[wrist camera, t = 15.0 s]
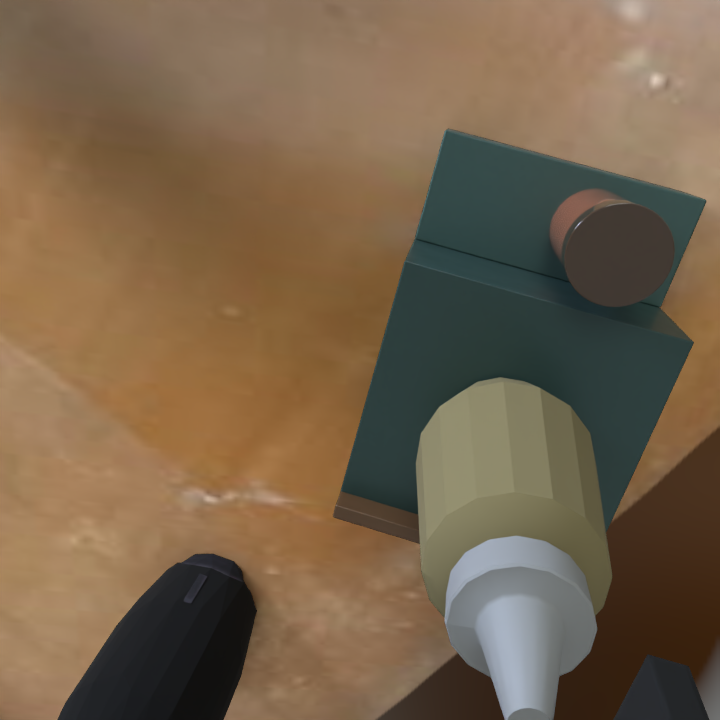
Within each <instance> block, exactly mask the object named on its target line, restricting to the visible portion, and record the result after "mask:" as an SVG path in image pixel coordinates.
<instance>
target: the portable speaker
mask: <svg viewBox="0 0 720 720" xmlns="http://www.w3.org/2000/svg"><path fill="white" fill-rule="evenodd" d="M256 612H257V610H256V608H255V605H254V601H253V598H252V595H251V592H250V590H249V589H248V588H247V586H246V584H245V582H244V580H243V575H242V571H241V569H240V568H239V567H238V566H237V565H236V563H235V562H234V561H231V560H228V559H225V558H223V557H220V556H217V555H214V554H195V555H193V556H192V557H190V558H189V559H187V560H185V561H184V562H182V563H177V564H175V565H174V566H172V567H171V568H169V569H168V570H167V571H166V572H165V573H164V574H163V575H162V576H161V577H160V578H159V579H158V580H157V581H156V582H155V583H154V584H153V585H152V586H151V587H150V588H149V589H148V590H147V591H146V592H145V593H144V594H143V595H142V596H141V597H140V598H139V599H138V601H137V602H136V603H135V604H134V605H133V607H132V608H131V609H130V610H129V611H128V613H127V614H126V615H125V616H124V617H123V619H122V620H121V621H120V622H119V623H118V625H117V626H116V627H115V629H114V630H113V632H112V633H111V635H110V636H109V638H108V639H107V641H106V642H105V644H104V645H103V647H102V648H101V650H100V652H99V653H98V655H97V656H96V658H95V659H94V661H93V662H92V664H91V665H90V667H89V668H88V670H87V671H86V673H85V674H84V676H83V677H82V679H81V680H80V682H79V683H78V685H77V686H76V688H75V689H74V691H73V692H72V694H71V695H70V697H69V698H68V700H67V701H66V703H65V705H64V707H63V709H62V711H61V713H60V715H59V717H58V720H224V717H225V715H226V712H227V710H228V707H229V705H230V702H231V700H232V697H233V695H234V692H235V690H236V687H237V685H238V682H239V680H240V678H241V674H242V670H243V666H244V662H245V657H246V653H247V649H248V645H249V641H250V637H251V633H252V628H253V624H254V619H255V615H256Z"/></svg>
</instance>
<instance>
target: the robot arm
mask: <svg viewBox="0 0 720 720" xmlns="http://www.w3.org/2000/svg"><path fill="white" fill-rule="evenodd" d="M614 720H709V718H708V715H707V713H706V710H705V707H704V705H703V703H702V700H701V698H700V695H699V692H698V690H697V687H696V684H695V682H694V679H693V677H692V674H691V671H690V669H689V667H688V666H686V665H682V664H679V663H675V662H672V661H668V660H665V659H662V658H658V657H655V656H651V655H647V657H646V659H645V661H644V662H643V664H642V666H641V668H640V670H639V672H638V674H637V676H636V678H635V680H634V682H633V684H632V685H631V688H630V689H629V691H628V693H627V695H626V697H625V699H624V701H623V703H622V705H621V707H620V708H619V710H618V713H617V714H616V716H615V718H614Z"/></svg>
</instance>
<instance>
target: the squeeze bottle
mask: <svg viewBox="0 0 720 720" xmlns="http://www.w3.org/2000/svg"><path fill="white" fill-rule="evenodd" d="M416 477H417V497H418V516H419V536H420V556H421V572H422V575H423V579H424V582H425V586H426V589H427V593H428V596H429V600H430V601H431V602H432V604H433V605H434V606H435V607H436V608H437V610H438V611H439V612H440V613H441V614H442V616H443V617H444V618H445V625H446V628H447V632H448V635H449V639H450V642H451V645H452V646H453V647H454V649H455V650H456V651H457V652H458V653H459V655H460V656H461V657H462V658H463V659H464V661H465V662H466V663H467V664H468V665H470V666H471V667H473V668H475V669H477V670H478V671H480V672H482V673H484V674H485V675H488V676H489V677H491V678H492V681H493V684H494V687H495V690H496V693H497V697H498V700H499V703H500V706H501V709H502V712H503V715H504V718H505V720H553V718H554V711H555V704H556V695H557V688H558V680H559V676H560V675H563V674H565V673H567V672H570V671H572V670H573V669H574V668H575V667H576V666H577V665H578V664H579V663H580V662H581V661H582V660H583V659H584V658H585V657H586V656H587V655H588V653H590V651H591V648H592V644H593V641H594V638H595V635H596V631H597V625H596V620H595V615H596V614H597V613H598V612H599V611H600V610H601V609H602V608H603V606H604V603H605V600H606V597H607V593H608V590H609V586H610V584H611V580H612V571H611V564H610V557H609V550H608V543H607V537H606V529H605V523H604V516H603V509H602V502H601V495H600V488H599V481H598V474H597V467H596V461H595V456H594V451H593V446H592V440H591V435H590V432H589V431H588V429H587V428H586V427H585V425H584V424H583V423H582V421H581V420H580V418H579V417H578V416H577V414H576V413H575V412H574V410H573V409H572V408H571V406H570V405H568V404H566V403H565V402H563V401H561V400H560V399H558V398H556V397H554V396H553V395H551V394H549V393H548V392H546V391H544V390H543V389H541V388H539V387H537V386H534V385H532V384H530V383H527V382H525V381H520V380H514V379H508V378H502V377H499V378H494V379H489V380H484V381H479V382H476V383H475V384H473V385H471V386H470V387H468V388H467V389H465V390H464V391H462V392H460V393H459V394H457V395H456V396H454V397H453V398H451V399H450V400H449V401H447V402H446V403H444V404H443V405H441V406H440V407H439V408H438V409H437V411H436V412H435V414H434V415H433V416H432V418H431V419H430V421H429V422H428V424H427V425H426V427H425V428H424V430H423V431H422V432H421V436H420V441H419V447H418V453H417V459H416Z"/></svg>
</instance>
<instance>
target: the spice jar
mask: <svg viewBox="0 0 720 720" xmlns="http://www.w3.org/2000/svg"><path fill="white" fill-rule="evenodd" d="M549 237H550V243H551V247H552V249H553V251H554V253H555V254H556V256H557V258H558V259H559V261H560V263H561V264H562V266H563V269H564V272H565V274H566V276H567V278H568V280H569V281H570V283H571V285H572V286H573V288H574V289H575V290H576V291H577V292H578V293H579V294H580V295H581V296H582V297H584V298H585V299H586V300H588V301H590V302H592V303H595V304H598V305H601V306H606V307H622V306H628V305H632V304H635V303H637V302H640V301H642V300H644V299H645V298H647V297H649V296H650V295H651V294H653V293H654V292H655V291H656V290H657V289H658V288H659V287H660V286H661V285H662V284H663V282H664V281H665V279H666V278H667V276H668V274H669V272H670V270H671V268H672V265H673V261H674V253H675V247H674V240H673V236H672V233H671V230H670V229H669V227H668V225H667V224H666V222H665V221H664V220H663V219H662V218H661V217H660V216H659V215H658V214H657V213H656V212H654V211H653V210H651V209H649V208H647V207H645V206H643V205H641V204H639V203H636V202H633V201H629V200H627V199H625V198H623V197H621V196H619V195H617V194H616V193H614V192H611V191H608V190H604V189H588V190H583V191H580V192H578V193H576V194H573V195H572V196H570V197H569V198H567V199H566V200H565V201H564V202H563V203H562V204H561V205H560V206H559V207H558V209H557V210H556V212H555V214H554V216H553V218H552V220H551V224H550V230H549Z"/></svg>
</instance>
